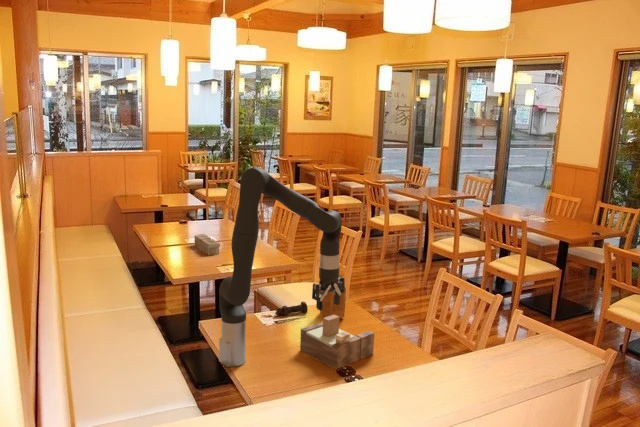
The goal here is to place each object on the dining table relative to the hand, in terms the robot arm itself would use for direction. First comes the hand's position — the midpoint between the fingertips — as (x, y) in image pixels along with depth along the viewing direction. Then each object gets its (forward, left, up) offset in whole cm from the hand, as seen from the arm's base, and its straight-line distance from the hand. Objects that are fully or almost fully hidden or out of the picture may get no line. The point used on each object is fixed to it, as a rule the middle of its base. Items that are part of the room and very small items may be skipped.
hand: (328, 307), depth 202 cm
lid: (+9, +7, -17) cm, 21 cm away
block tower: (+50, +170, -25) cm, 179 cm away
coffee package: (+38, +36, -25) cm, 58 cm away
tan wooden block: (+7, -1, -15) cm, 17 cm away
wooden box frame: (+13, +7, -24) cm, 28 cm away
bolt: (+24, +50, -25) cm, 60 cm away
